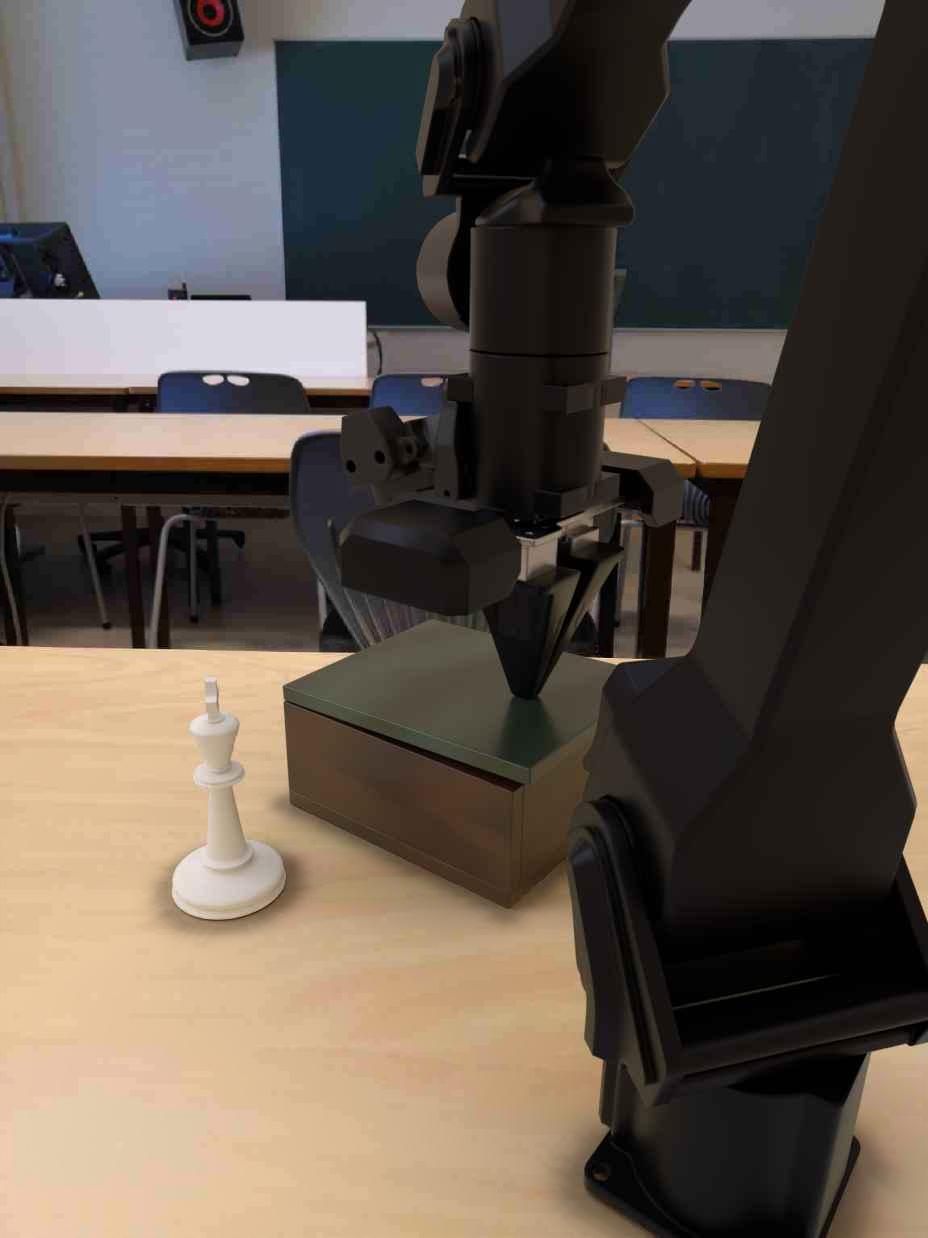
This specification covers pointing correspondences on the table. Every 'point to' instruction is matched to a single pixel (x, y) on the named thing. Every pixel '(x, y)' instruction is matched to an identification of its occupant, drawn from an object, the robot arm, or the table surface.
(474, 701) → the box lid
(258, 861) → the chess piece
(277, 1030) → the table surface
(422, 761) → the wooden box
